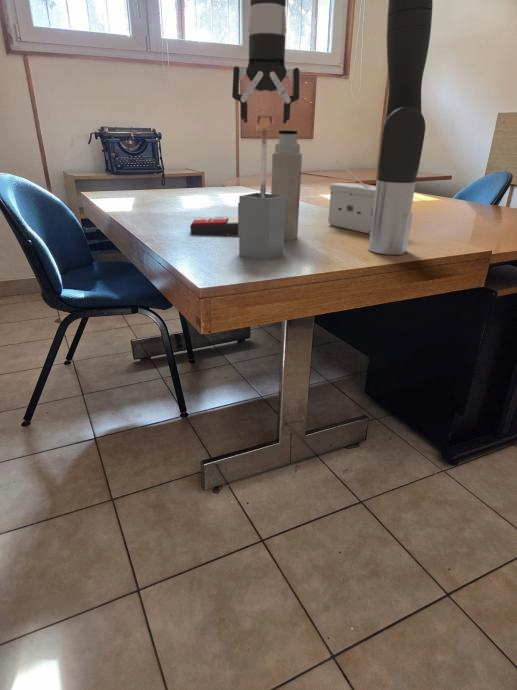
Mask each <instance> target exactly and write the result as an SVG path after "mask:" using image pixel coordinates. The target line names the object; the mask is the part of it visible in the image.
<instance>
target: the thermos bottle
mask: <svg viewBox="0 0 517 690" xmlns="http://www.w3.org/2000/svg"><path fill="white" fill-rule="evenodd" d="M278 134H279V135H278V136H279V137H278V142H276V143H275V146H274V152H272V159H271V188H270V190H271V192H270V194H276V195H286V205H285V227H284V241H286V240H288V241H289V240H295V239H297V238H298V233H299V214H300V198H301V194H300V193H301V179H302V164H303V163H302V162H303V154H302V153H301V152H300V151H301V150H300V149H301V145H300V143H299V142H298V136H297V135H298V130H294V129H283V130H282V129H281V130H278Z"/></svg>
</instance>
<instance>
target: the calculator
mask: <svg viewBox="0 0 517 690" xmlns="http://www.w3.org/2000/svg"><path fill="white" fill-rule="evenodd" d="M189 227H190V235H195V236H196V235H199V236H200V235H202V236H218V235H217V234H223V236H224V234H229V235H228V236H238V216H229V217H228V216H227V215H226V216H224V215H223V216H213V217H211V216H200V217H199V216H197V217H195V218H194V219H193V221H192V222H191V224H190V226H189ZM214 234H215V235H214Z"/></svg>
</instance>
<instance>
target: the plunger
mask: <svg viewBox="0 0 517 690" xmlns="http://www.w3.org/2000/svg"><path fill="white" fill-rule="evenodd" d="M255 121H256V124H255V125H256V127H255V132H260V133H261V145H260V146H261V148H260V149H261V151H260V152H261V153H260V155H261V156H260V157H261V158H260V192H259V193H260V198H265V195H266V194H267V193H266V190H267V187H266V186H267V183H266V182H267V153H268V151H267V149H268V132H269V133H270V132H271V133H273V129H274V128H273V127H274V116H272V115H257V116H256V120H255Z"/></svg>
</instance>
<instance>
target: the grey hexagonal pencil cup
mask: <svg viewBox="0 0 517 690" xmlns="http://www.w3.org/2000/svg"><path fill="white" fill-rule="evenodd" d="M238 198H239V200H238V201H239V202H238V203H237V217H238V235H237V236H238V242H239V243H238V249H239V250H238V256H239V257H242V258H243V257H244V258H250V259H256V260H261V261H270V260H272V259H275V258H277V257H279V256H282V255H283V254H284V249H285V248H284V246H285V245H284V243H285V240H284V227H285V205H286V195H276V194H271V193H266V195H265V198H260V192H254V193H248V194H242V195H239V197H238Z"/></svg>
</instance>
